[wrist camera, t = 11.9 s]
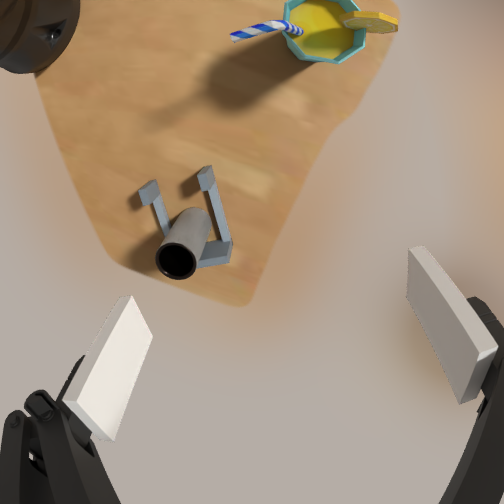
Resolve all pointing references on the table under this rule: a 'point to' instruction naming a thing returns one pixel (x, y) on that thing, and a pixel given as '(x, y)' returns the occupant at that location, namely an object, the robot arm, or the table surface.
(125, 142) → the table surface
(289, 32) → the cup
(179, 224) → the grey tube
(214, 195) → the endcap rail
